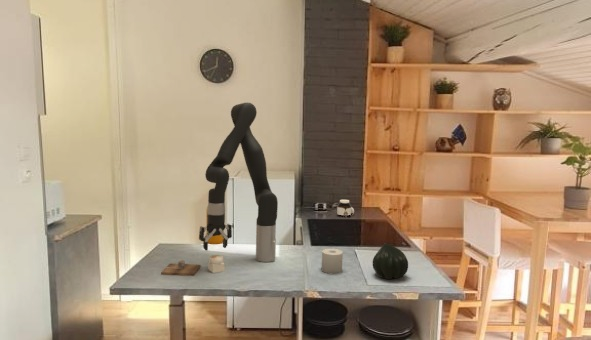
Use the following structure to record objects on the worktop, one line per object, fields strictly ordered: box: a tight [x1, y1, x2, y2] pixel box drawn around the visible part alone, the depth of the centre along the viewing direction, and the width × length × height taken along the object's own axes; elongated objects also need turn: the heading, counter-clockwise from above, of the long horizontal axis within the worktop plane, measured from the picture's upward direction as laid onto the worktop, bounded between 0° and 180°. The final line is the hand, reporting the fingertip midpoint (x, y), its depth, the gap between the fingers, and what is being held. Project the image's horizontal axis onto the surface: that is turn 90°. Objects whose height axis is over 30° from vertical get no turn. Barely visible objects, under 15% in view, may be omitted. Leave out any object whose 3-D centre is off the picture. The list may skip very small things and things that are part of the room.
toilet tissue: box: [321, 248, 344, 275], centre depth 187 cm, size 9×13×9 cm
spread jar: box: [336, 199, 355, 216], centre depth 297 cm, size 12×11×12 cm
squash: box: [372, 243, 409, 280], centre depth 180 cm, size 14×15×15 cm
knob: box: [207, 254, 226, 274], centre depth 181 cm, size 6×6×6 cm
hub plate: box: [160, 260, 202, 277], centre depth 180 cm, size 14×11×4 cm
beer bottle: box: [206, 205, 225, 245], centre depth 222 cm, size 9×9×29 cm
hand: (215, 248), depth 181 cm, fingers open, 8 cm apart
